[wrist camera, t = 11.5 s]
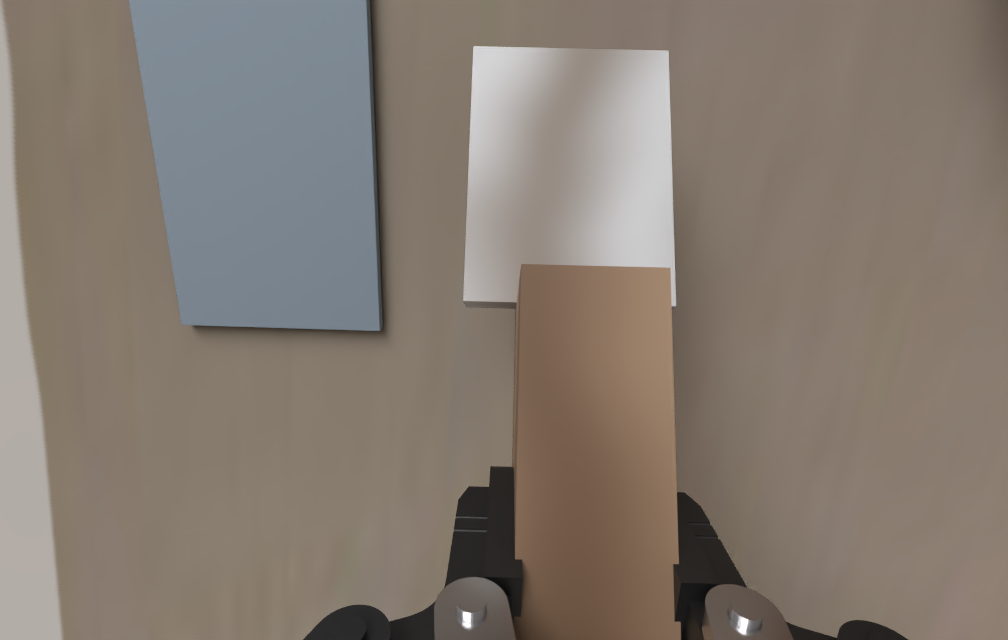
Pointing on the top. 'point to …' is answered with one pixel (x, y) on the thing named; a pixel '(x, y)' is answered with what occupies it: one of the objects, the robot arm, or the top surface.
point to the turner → (582, 327)
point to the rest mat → (265, 158)
